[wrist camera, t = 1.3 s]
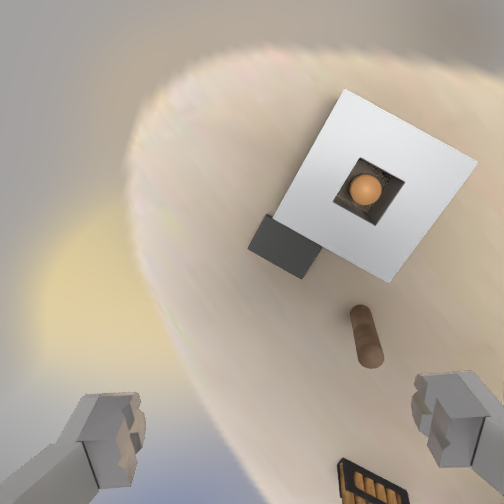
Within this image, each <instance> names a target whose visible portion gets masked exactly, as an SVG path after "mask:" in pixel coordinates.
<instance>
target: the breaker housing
mask: <svg viewBox="0 0 504 504" xmlns="http://www.w3.org/2000/svg"><path fill="white" fill-rule="evenodd" d="M358 159H361V160H363V161H365V162H367V163H368V164H370V165H372V166H374V167H376V168H377V169H379V170H381V171H383V172H385V173H387V174H388V175H390V176H392V177H391V178H390V180H389V181H388V183H387V184H386V186H385V187H384V189H383V190H382V192H381V195H380V197H379V198H378V200H377V201H375V202H374V204H373V205H372V207H371V208H370V210H369V211H368V213H367V214H366V213H365V212H363V211H361V210H359V209H357V208H356V207H354V206H352V205H350V204H348V203H347V202H345V201H343V200H341V199H340V198H338V197H336V195H337V193H338V192H339V190H340V189H341V187H342V185H343V184H344V182H345V180H346V179H347V177H348V175H349V174H350V172H351V171H352V169H353V167H354V166H355V164H356V162H357V161H358ZM478 163H479V162H478V161H476V160H474V159H472V158H470V157H469V156H467V155H465V154H463V153H461V152H459V151H458V150H456V149H454V148H452V147H450V146H449V145H447V144H445V143H443V142H441V141H439V140H438V139H436V138H434V137H432V136H430V135H429V134H427V133H425V132H423V131H421V130H419V129H418V128H416V127H414V126H412V125H410V124H408V123H407V122H405V121H403V120H401V119H399V118H398V117H396V116H394V115H392V114H390V113H388V112H387V111H385V110H383V109H381V108H379V107H378V106H376V105H374V104H372V103H370V102H368V101H367V100H365V99H363V98H361V97H359V96H357V95H356V94H354V93H352V92H350V91H348V90H347V89H345V88H344V90H343V92H342V94H341V96H340V97H339V99H338V101H337V103H336V105H335V106H334V108H333V110H332V112H331V114H330V115H329V117H328V119H327V121H326V123H325V124H324V126H323V128H322V130H321V132H320V133H319V135H318V137H317V139H316V141H315V142H314V144H313V146H312V148H311V150H310V151H309V153H308V155H307V157H306V159H305V160H304V162H303V164H302V166H301V168H300V169H299V171H298V173H297V175H296V177H295V178H294V180H293V182H292V184H291V185H290V187H289V189H288V191H287V193H286V194H285V196H284V198H283V200H282V202H281V203H280V205H279V207H278V209H277V211H276V212H275V214H274V216H273V219H274V220H276V221H278V222H280V223H281V224H283V225H285V226H287V227H289V228H290V229H292V230H294V231H296V232H297V233H299V234H301V235H303V236H305V237H306V238H308V239H310V240H312V241H313V242H315V243H317V244H319V245H321V246H322V247H324V248H326V249H328V250H329V251H331V252H333V253H335V254H337V255H338V256H340V257H342V258H344V259H345V260H347V261H349V262H351V263H353V264H354V265H356V266H358V267H360V268H361V269H363V270H365V271H367V272H369V273H370V274H372V275H374V276H376V277H378V278H379V279H381V280H383V281H385V282H386V283H388V284H389V283H390V281H391V280H392V279H393V277H394V276H395V274H396V273H397V272H398V270H399V269H400V268H401V266H402V265H403V264H404V262H405V261H406V260H407V258H408V257H409V256H410V254H411V253H412V252H413V250H414V249H415V248H416V246H417V245H418V244H419V242H420V241H421V240H422V238H423V237H424V235H425V234H426V233H427V231H428V230H429V229H430V227H431V226H432V225H433V223H434V222H435V221H436V219H437V218H438V217H439V215H440V214H441V213H442V211H443V210H444V209H445V207H446V206H447V205H448V203H449V202H450V200H451V199H452V198H453V196H454V195H455V194H456V192H457V191H458V190H459V188H460V187H461V186H462V184H463V183H464V182H465V180H466V179H467V178H468V176H469V175H470V174H471V172H472V171H473V170H474V168H475V167H476V166H477V164H478Z"/></svg>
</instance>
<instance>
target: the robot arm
mask: <svg viewBox="0 0 504 504" xmlns="http://www.w3.org/2000/svg"><path fill="white" fill-rule="evenodd" d="M414 386H415V387H416V389H417V392H416V393H415V394H414V395H413V396H412V402H411V408H412V415H413V418H414V421H415V423H416V425H417V427H418V429H419V431H420V432H422V433H423V434H424V435H426V436H427V437H428V443H427V446H428V448H429V450H430V452H431V453H432V455H433V457H434V459H435V461H436V463H437V465H438V466H439V468H452V467H472V468H471V469H473V470H474V471H475V472H476V473H477V474H478V475H480V476H481V477H482V478H483V479H484V480H485V481H487V482H488V483H489V484H490V485H491V486H493V487H494V488H495V489H496V490H497V491H498V492H500V493H501V494H502V495H503V496H504V406H503V405H502V404H501V403H500V402H499V400H498V399H497V398H496V397H495V396H494V395H493V393H492V392H491V391H490V390H489V389H488V388H487V387H486V385H485V384H484V383H483V382H482V381H481V380H480V378H479V377H478V376H477V375H476V374H475V373H474V372H472V371H470V370H469V371H456V372H443V373H429V374H418V375H417V376H416V378H415V382H414ZM140 403H141V399H140V396H139V393H137V392H122V393H103V394H86V395H84V396H83V397H82V398H81V399H80V401H79V403H78V405H77V406H76V408H75V410H74V412H73V413H72V415H71V417H70V419H69V421H68V422H67V424H66V426H65V428H64V430H63V431H62V433H61V435H60V437H59V439H58V440H57V442H56V444H50V445H49V446H47V447H46V448H45V449H43V450H42V451H41V452H40V453H38V454H37V455H36V456H34V457H33V458H32V459H31V460H29V461H28V462H27V463H26V464H24V465H23V466H22V467H21V468H19V469H18V470H17V471H15V472H14V473H13V474H12V475H10V476H9V477H8V478H7V479H5V480H4V481H3V482H1V483H0V504H89V503H90V501H91V500H92V499H93V498H94V497H95V496H96V495H97V493H98V492H99V489H108V488H120V487H130V486H131V483H132V480H133V477H134V473H135V470H136V467H137V463H138V462H137V459H136V454H137V452H138V451H139V450H140V449H141V448H142V446H143V443H144V439H145V431H146V420H145V415H144V413H143V412H142V411H141V410H140V409H139V406H140Z"/></svg>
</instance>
